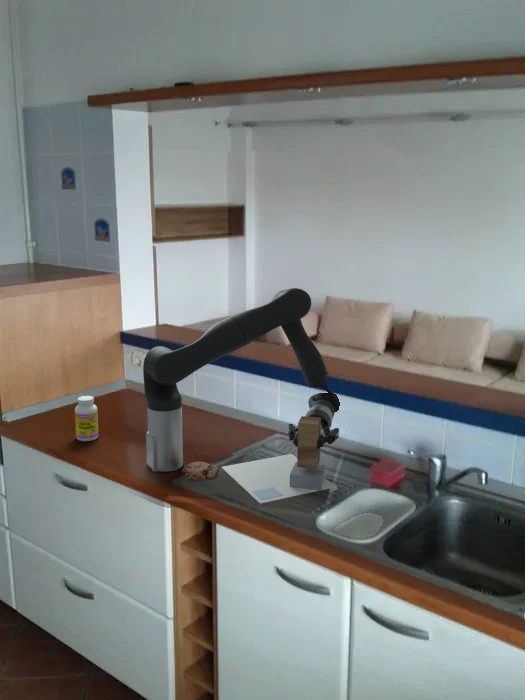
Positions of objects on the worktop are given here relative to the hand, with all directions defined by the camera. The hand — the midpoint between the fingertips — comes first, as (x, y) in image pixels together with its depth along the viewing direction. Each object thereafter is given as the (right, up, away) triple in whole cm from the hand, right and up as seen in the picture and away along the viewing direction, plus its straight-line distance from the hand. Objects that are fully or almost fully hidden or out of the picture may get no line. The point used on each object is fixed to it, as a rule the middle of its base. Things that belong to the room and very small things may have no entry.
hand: (307, 444), depth 170 cm
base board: (-7, -11, +9) cm, 16 cm away
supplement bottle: (-65, -3, +36) cm, 75 cm away
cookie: (-28, -10, +11) cm, 32 cm away
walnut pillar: (+1, -6, +4) cm, 7 cm away
